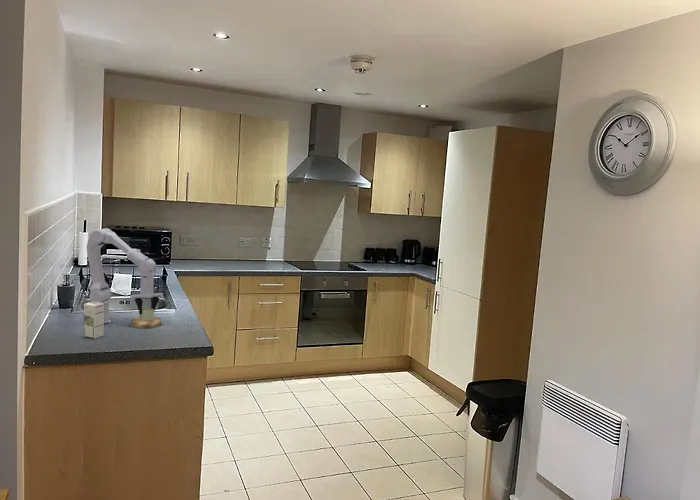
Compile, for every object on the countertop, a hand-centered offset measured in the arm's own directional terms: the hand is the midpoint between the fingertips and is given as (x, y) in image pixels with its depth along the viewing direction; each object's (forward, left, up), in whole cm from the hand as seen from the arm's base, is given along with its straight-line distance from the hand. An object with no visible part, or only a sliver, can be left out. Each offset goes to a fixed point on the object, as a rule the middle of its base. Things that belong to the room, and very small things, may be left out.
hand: (146, 313), depth 252 cm
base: (0, 0, -5) cm, 5 cm away
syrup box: (-25, -10, -6) cm, 28 cm away
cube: (0, 0, -3) cm, 3 cm away
